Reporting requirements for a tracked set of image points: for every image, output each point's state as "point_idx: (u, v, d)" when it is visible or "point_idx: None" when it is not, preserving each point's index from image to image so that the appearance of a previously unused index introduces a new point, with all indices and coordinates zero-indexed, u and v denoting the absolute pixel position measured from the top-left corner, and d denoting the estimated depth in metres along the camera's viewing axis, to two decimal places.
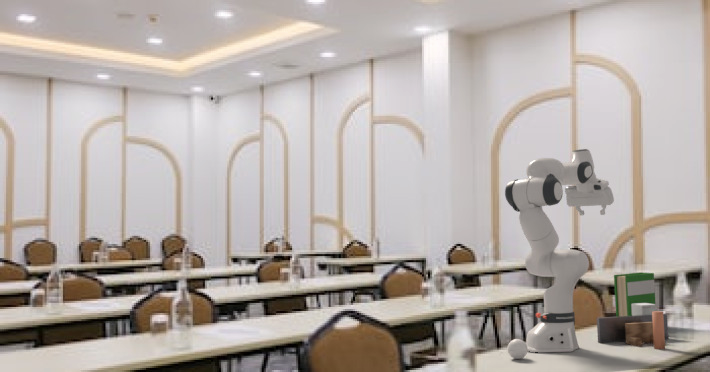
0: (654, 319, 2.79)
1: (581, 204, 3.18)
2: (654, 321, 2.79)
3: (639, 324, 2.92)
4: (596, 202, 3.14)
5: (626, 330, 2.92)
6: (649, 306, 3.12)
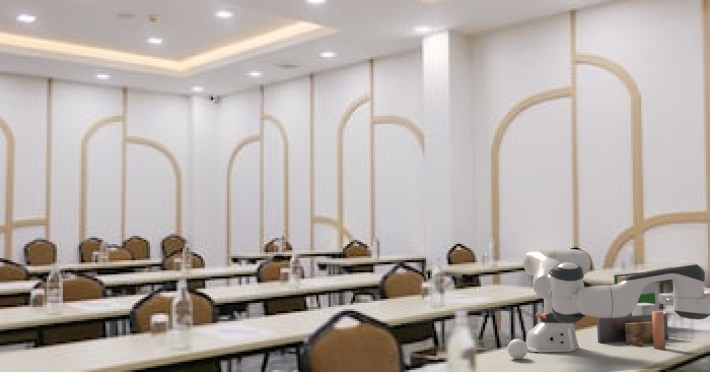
0: (654, 319, 2.79)
1: None
2: (654, 321, 2.79)
3: (639, 324, 2.92)
4: None
5: (626, 330, 2.92)
6: (649, 306, 3.12)
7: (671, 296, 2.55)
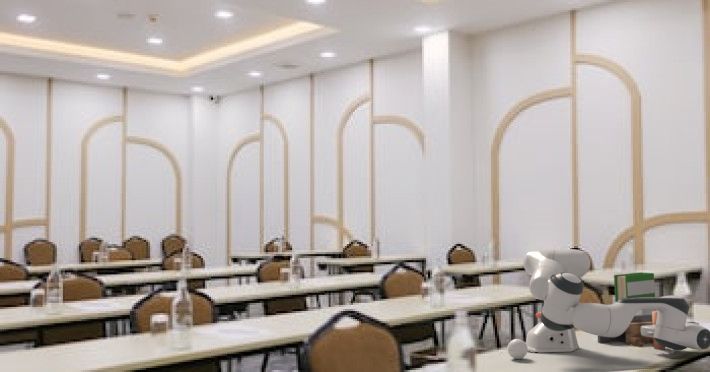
0: (654, 319, 2.79)
1: None
2: (654, 321, 2.79)
3: (639, 324, 2.92)
4: None
5: (626, 330, 2.92)
6: None
7: (652, 329, 2.68)
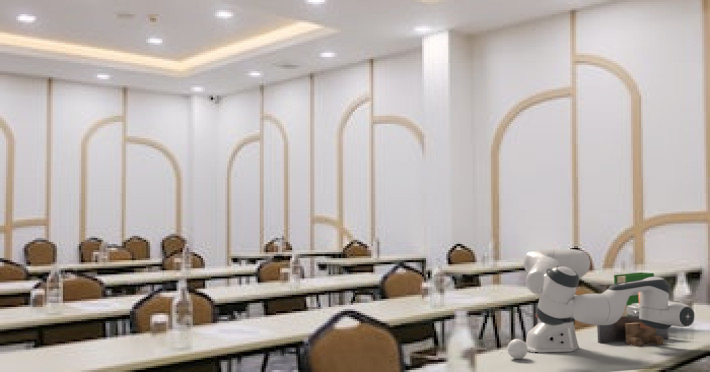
0: None
1: None
2: None
3: (639, 324, 2.92)
4: None
5: (626, 330, 2.92)
6: None
7: (638, 308, 2.78)
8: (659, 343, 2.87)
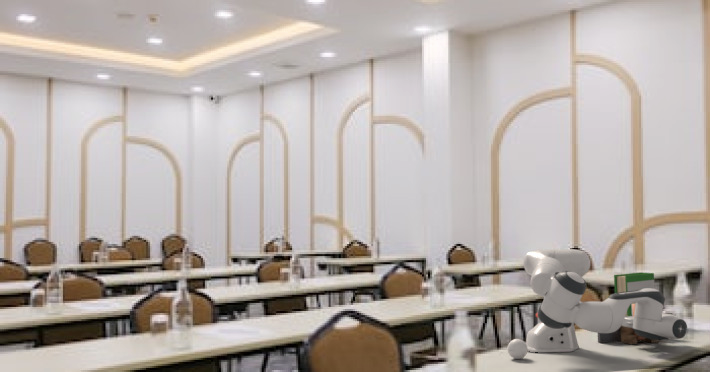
0: (634, 311, 2.93)
1: None
2: (634, 312, 2.93)
3: None
4: None
5: (621, 329, 2.96)
6: None
7: (632, 320, 2.82)
8: (654, 341, 2.91)
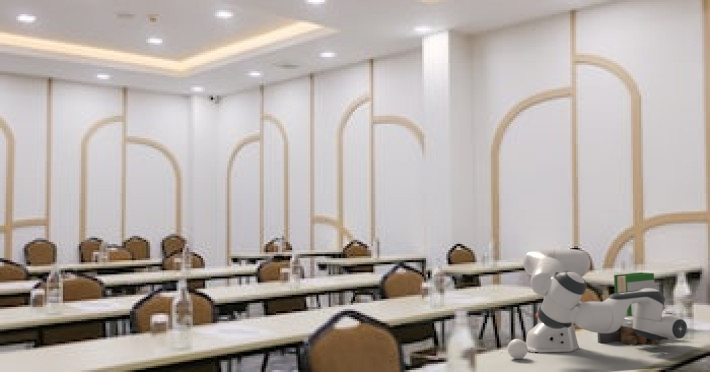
0: None
1: None
2: None
3: None
4: None
5: (621, 329, 2.95)
6: None
7: (632, 320, 2.82)
8: (654, 341, 2.91)
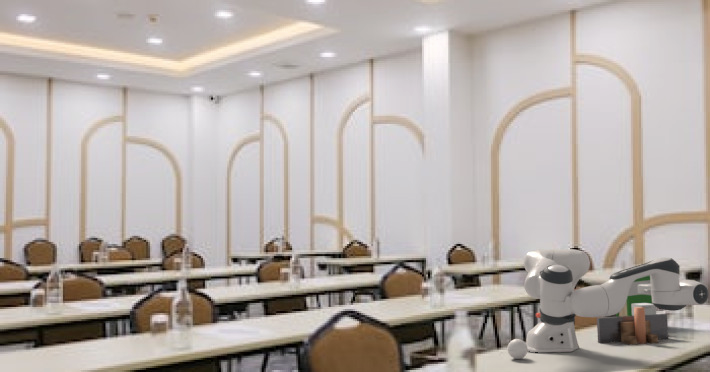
0: (635, 314, 2.92)
1: None
2: (635, 316, 2.93)
3: (634, 323, 2.95)
4: None
5: (621, 329, 2.95)
6: (649, 306, 3.12)
7: (649, 287, 2.70)
8: (654, 341, 2.91)
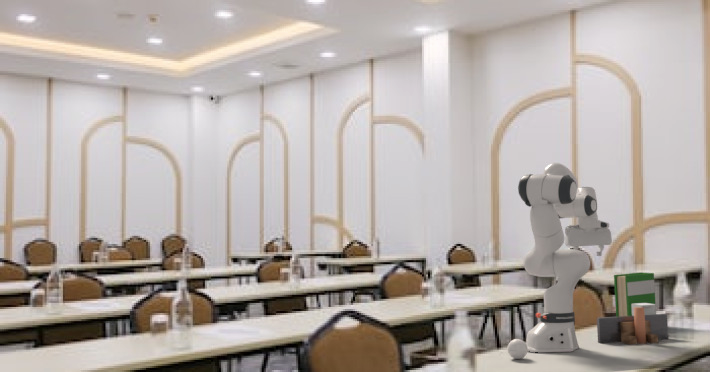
0: (635, 314, 2.93)
1: (583, 244, 3.13)
2: (635, 316, 2.93)
3: (634, 323, 2.95)
4: (598, 241, 3.14)
5: (621, 329, 2.95)
6: (649, 306, 3.12)
7: None
8: (654, 341, 2.91)
